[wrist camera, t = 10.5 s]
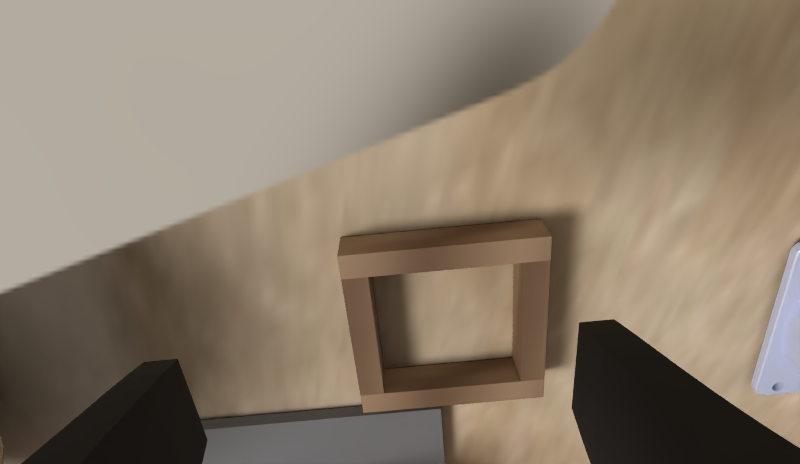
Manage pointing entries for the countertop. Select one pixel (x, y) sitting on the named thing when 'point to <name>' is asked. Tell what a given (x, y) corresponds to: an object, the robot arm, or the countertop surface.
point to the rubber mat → (328, 437)
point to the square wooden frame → (449, 251)
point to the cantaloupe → (1, 451)
